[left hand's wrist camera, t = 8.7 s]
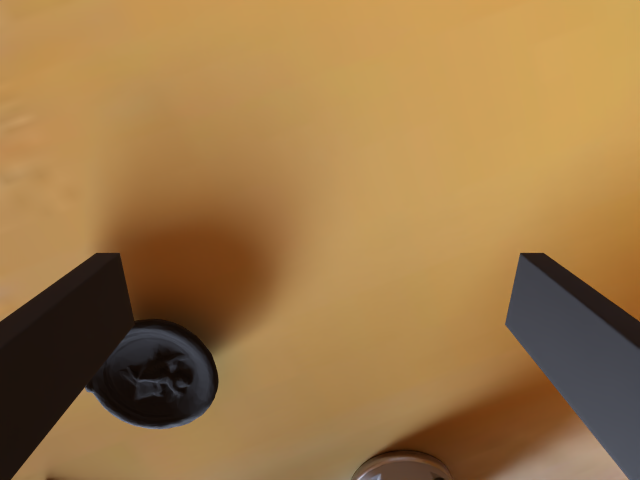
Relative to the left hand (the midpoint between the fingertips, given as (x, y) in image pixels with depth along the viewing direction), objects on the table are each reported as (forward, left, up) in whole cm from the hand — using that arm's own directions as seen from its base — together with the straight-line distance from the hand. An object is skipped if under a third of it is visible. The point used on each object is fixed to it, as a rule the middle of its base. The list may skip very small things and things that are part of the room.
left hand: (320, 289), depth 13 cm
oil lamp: (-22, +23, -28) cm, 42 cm away
